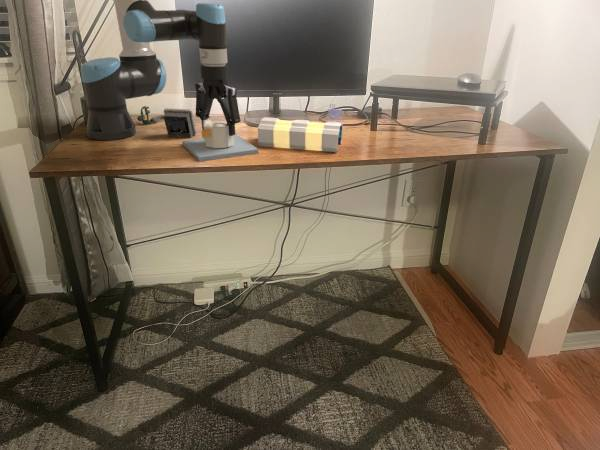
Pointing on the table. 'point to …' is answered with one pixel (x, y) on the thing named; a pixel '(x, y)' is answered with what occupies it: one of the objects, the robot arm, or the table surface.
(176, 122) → the electrical switch
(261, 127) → the striped octagonal tube
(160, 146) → the table surface
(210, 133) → the beige octagonal hollow block
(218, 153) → the shaft plate
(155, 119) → the zombie figurine
